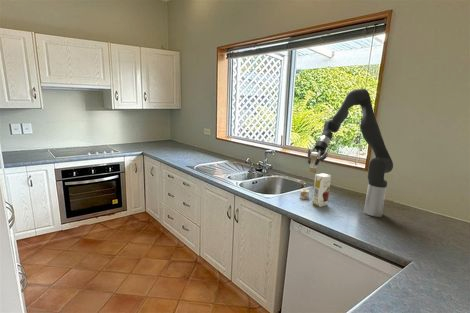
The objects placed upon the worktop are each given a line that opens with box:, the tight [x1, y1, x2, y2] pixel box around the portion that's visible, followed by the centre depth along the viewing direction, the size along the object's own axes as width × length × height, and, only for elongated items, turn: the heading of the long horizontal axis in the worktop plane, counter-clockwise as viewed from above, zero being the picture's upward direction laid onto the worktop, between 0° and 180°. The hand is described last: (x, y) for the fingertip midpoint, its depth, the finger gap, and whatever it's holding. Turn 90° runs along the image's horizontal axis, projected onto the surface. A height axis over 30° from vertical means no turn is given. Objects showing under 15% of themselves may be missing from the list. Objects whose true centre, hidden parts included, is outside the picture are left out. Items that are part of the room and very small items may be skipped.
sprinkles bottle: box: [308, 152, 318, 174], centre depth 173 cm, size 5×5×13 cm
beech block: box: [299, 188, 310, 200], centre depth 171 cm, size 5×5×5 cm
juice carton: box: [311, 172, 332, 208], centre depth 160 cm, size 8×9×19 cm
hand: (312, 163), depth 172 cm, fingers closed on sprinkles bottle, 4 cm apart
